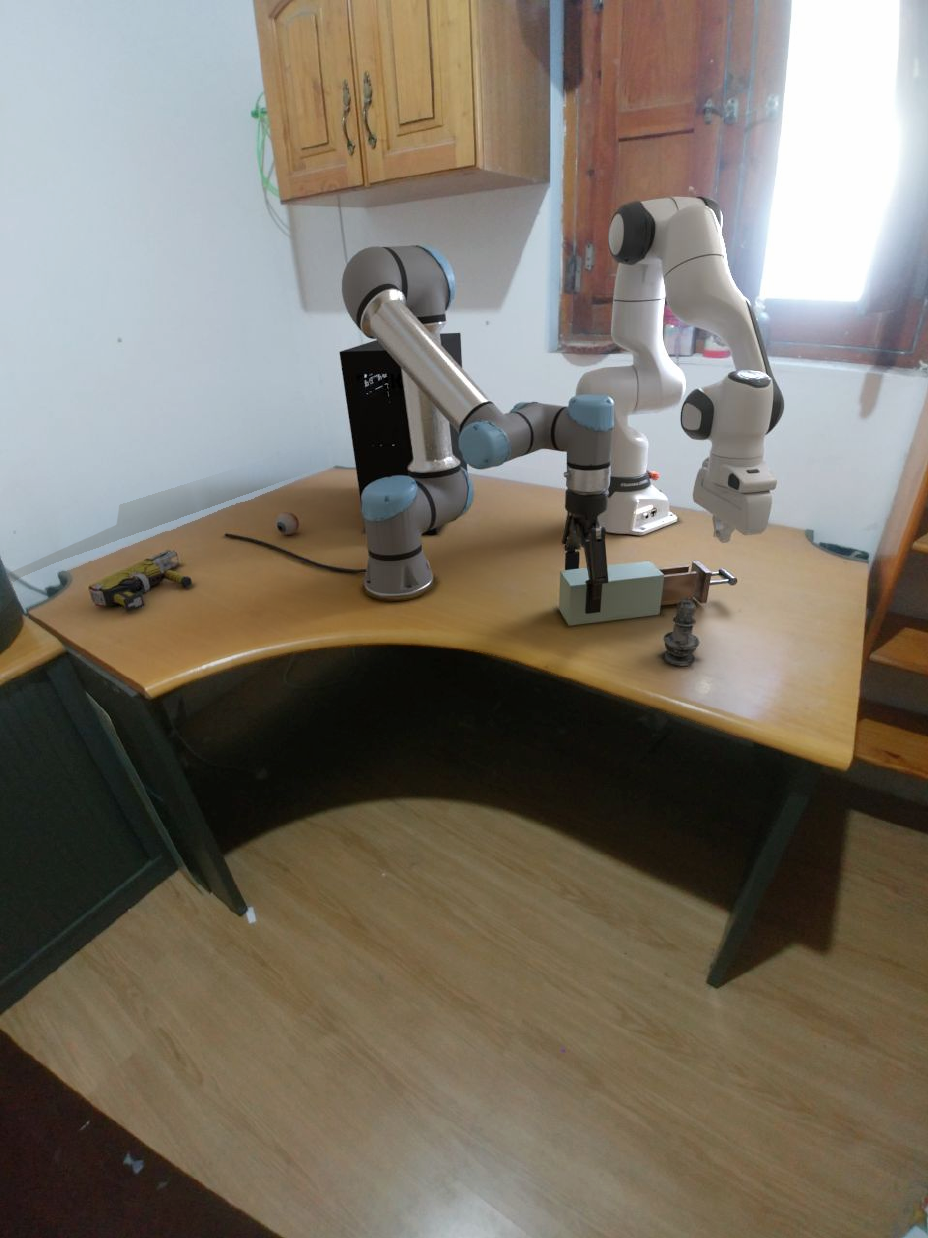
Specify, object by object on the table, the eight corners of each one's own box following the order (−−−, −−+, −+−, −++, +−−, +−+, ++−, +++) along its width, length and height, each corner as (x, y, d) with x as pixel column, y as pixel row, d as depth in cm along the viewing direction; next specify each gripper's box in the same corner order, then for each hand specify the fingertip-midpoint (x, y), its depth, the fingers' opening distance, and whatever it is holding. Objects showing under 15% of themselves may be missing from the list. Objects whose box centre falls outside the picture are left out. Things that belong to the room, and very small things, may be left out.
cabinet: (645, 598, 124) (649, 560, 119) (659, 614, 118) (664, 574, 114) (558, 609, 122) (560, 570, 117) (568, 625, 116) (570, 585, 112)
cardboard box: (436, 534, 159) (422, 349, 137) (364, 531, 164) (339, 351, 141) (468, 489, 191) (460, 332, 168) (407, 487, 195) (391, 335, 173)
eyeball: (273, 537, 164) (268, 516, 161) (287, 528, 169) (282, 508, 166) (291, 539, 161) (286, 518, 158) (305, 530, 166) (301, 510, 163)
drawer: (720, 587, 124) (726, 557, 121) (735, 599, 120) (741, 568, 116) (613, 600, 122) (615, 569, 118) (623, 613, 117) (626, 582, 114)
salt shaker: (698, 668, 101) (709, 605, 95) (662, 665, 103) (670, 603, 97) (694, 649, 106) (704, 588, 100) (659, 647, 108) (667, 587, 102)
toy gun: (215, 558, 145) (165, 547, 149) (137, 600, 125) (81, 586, 129) (218, 575, 148) (168, 564, 152) (142, 619, 128) (87, 605, 131)
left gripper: (547, 471, 116) (545, 572, 127) (589, 514, 95) (583, 630, 106) (585, 467, 117) (580, 568, 128) (634, 509, 96) (623, 625, 107)
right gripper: (689, 455, 117) (680, 522, 124) (748, 486, 100) (734, 563, 107) (720, 452, 118) (709, 519, 125) (783, 483, 100) (767, 559, 107)
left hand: (581, 596), depth 117 cm, fingers open, 12 cm apart
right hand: (721, 539), depth 116 cm, fingers closed
